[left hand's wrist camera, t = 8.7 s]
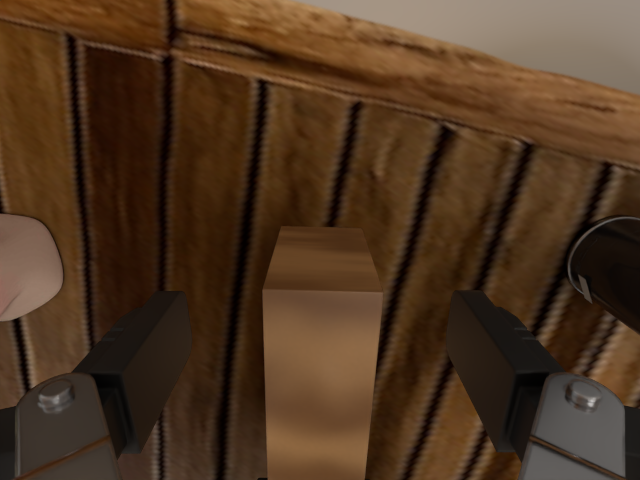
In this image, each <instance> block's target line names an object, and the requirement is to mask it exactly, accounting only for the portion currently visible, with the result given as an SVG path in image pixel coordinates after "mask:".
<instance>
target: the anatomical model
mask: <svg viewBox="0 0 640 480" xmlns="http://www.w3.org/2000/svg"><path fill="white" fill-rule="evenodd" d="M62 283H63V267H62V263H61V259H60V256H59V253H58V250H57V247H56V245H55V242H54V240H53V238H52V236H51V234H50V232H49V231H48V229H47V228H46V227H45V226H44V225H43V224H42V223H41V222H39V221H38V220H36V219H33V218H30V217H25V216H19V215H10V214H0V321H8V320H12V319H15V318H18V317H20V316H23V315H25V314H27V313H29V312H31V311H33V310H34V309H36V308H38V307H40V306H41V305H43V304H45V303H46V302H48V301H49V300H50V299H51V298H53V297H54V296H55V295H56V294H57V293H58V292H59V290H60V289H61V286H62Z"/></svg>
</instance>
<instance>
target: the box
mask: <svg viewBox="0 0 640 480" xmlns="http://www.w3.org/2000/svg"><path fill="white" fill-rule="evenodd" d="M262 298H263V333H264V369H265V404H266V439H267V475H268V480H365V470H366V460H367V450H368V441H369V431H370V421H371V411H372V401H373V392H374V382H375V372H376V362H377V352H378V343H379V333H380V323H381V313H382V303H383V290H382V287H381V284H380V281H379V278H378V275H377V272H376V269H375V266H374V263H373V260H372V257H371V254H370V251H369V248H368V245H367V242H366V239H365V236H364V233H363V230H362V228H340V227H303V226H281V228H280V232H279V235H278V238H277V242H276V245H275V249H274V252H273V255H272V259H271V262H270V265H269V269H268V272H267V276H266V279H265V282H264V286H263V289H262Z"/></svg>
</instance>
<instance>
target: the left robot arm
mask: <svg viewBox="0 0 640 480" xmlns="http://www.w3.org/2000/svg"><path fill="white" fill-rule="evenodd" d="M565 271H566V275H567V278H568V280H569V282H570V284H571V285H572V286H573V287H574V288H575V289H577V290H578V291H579V292H581V293H582V294H584V297H585V299H587V300H588V301H589V302H591V303H592V301H591V299H592V300H593V301H594V302H596V303H597V304H598V305H600V306H601V307H602V308H603V309H605V310H606V311H608V312H609V313H610V314H612V315H613V316H614V317H616V318H617V319H618V320H620V321H621V322H622V323H624V324H625V325H626V326H628V327H629V328H631V329H632V330H633V331H635V332H636V333H637V334H639V335H640V219H639V218H637V217H633V216H627V215H619V216H612V217H608V218H605V219H602V220H600V221H598V222H596V223H594V224H593V225H591V226H589V227H588V228H587V229H585V230H584V231H583V232H582V233H581V234H580V235H579V236H578V237H577V238H576V240H575V241H574V242H573V244H572V245H571V247H570V249H569V251H568V254H567V257H566V262H565ZM446 346H447V351H448V354H449V357H450V359H451V361H452V363H453V365H454V367H455V369H456V371H457V373H458V375H459V377H460V379H461V381H462V383H463V385H464V387H465V389H466V391H467V393H468V395H469V397H470V399H471V401H472V403H473V405H474V407H475V409H476V411H477V413H478V415H479V417H480V419H481V421H482V423H483V425H484V427H485V429H486V431H487V433H488V435H489V437H490V439H491V441H492V443H493V445H494V447H495V449H496V451H497V452H516V453H517V455H518V457H519V459H520V461H521V463H522V466H521V469H520V473H519V477H518V480H640V409H637V408H633V407H628V406H624V405H623V404H622V402H621V401H620V399H619V398H618V397H617V396H616V395H615V394H614V393H613V392H612V391H611V390H609V389H608V388H607V387H605V386H604V385H602V384H600V383H598V382H596V381H594V380H592V379H590V378H587V377H585V376H582V375H578V374H574V373H567V372H566V371H565V370H564V369H563V368H562V367H561V366H560V365H559V364H558V362H557V361H556V360H555V359H554V358H553V357H552V356H551V355H550V354H549V352H548V351H547V350H546V349H545V348H544V347H543V346H542V345H541V343H540V342H539V341H538V340H536V338H535V337H534V336H533V335H532V333H531V332H530V331H527V328H526V327H525V326H524V324H523V323H522V322H521V321H520V320H519V319H518V318H517V317H516V316H515V315H513V314H511V313H510V312H508V311H506V310H505V309H503V308H502V307H495V306H494V304H493V303H492V302H491V301H490V300H489V298H488V297H487V296H486V295H485V294H484V292H483V291H480V290H456V291H454V292H453V294H452V298H451V305H450V312H449V319H448V326H447V332H446ZM191 347H192V333H191V326H190V319H189V312H188V306H187V299H186V295H185V293H184V292H183V291H156V292H155V293H154V294H153V295H152V296H151V297H150V299H149V300H148V301H147V302H146V303H145V305H144V306H143V307H142V308H136V309H134V310H132V311H131V312H129V313H127V314H126V315H124V316H123V317H121V318H120V319H119V320H118V321H117V322H116V324H115V325H114V326H113V327H112V328H111V329H110V331H108V332H107V333H106V335H105V336H104V337H103V338H102V341H99V342H98V343H97V345H96V346H95V347H94V348H93V349H92V350H91V351H90V352H89V353H88V355H87V356H86V357H85V358H84V359H83V360H82V361H81V362H80V363H79V365H78V366H77V367H76V368H75V369H74V370H73V371H72V372H71V373H66V374H62V375H58V376H55V377H53V378H50V379H48V380H46V381H44V382H42V383H40V384H38V385H36V386H35V387H33V388H32V389H31V390H29V391H28V392H27V393H26V394H25V395H24V396H23V397H22V398H21V399H20V401H19V402H18V404H17V406H14V407H10V408H5V409H1V410H0V480H122V477H121V473H120V469H119V466H118V462H117V460H118V458H119V456H120V455H121V453H141V451H142V449H143V447H144V445H145V443H146V441H147V439H148V437H149V435H150V433H151V431H152V429H153V427H154V425H155V423H156V421H157V419H158V417H159V415H160V413H161V411H162V409H163V407H164V405H165V403H166V401H167V399H168V397H169V395H170V393H171V392H172V390H173V388H174V386H175V384H176V382H177V380H178V378H179V376H180V374H181V372H182V370H183V368H184V366H185V364H186V362H187V360H188V358H189V355H190V352H191Z"/></svg>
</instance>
